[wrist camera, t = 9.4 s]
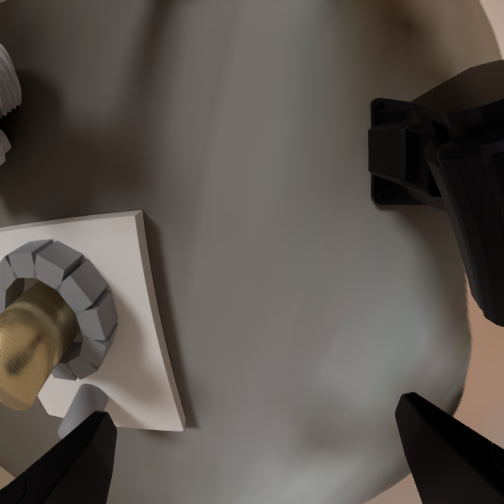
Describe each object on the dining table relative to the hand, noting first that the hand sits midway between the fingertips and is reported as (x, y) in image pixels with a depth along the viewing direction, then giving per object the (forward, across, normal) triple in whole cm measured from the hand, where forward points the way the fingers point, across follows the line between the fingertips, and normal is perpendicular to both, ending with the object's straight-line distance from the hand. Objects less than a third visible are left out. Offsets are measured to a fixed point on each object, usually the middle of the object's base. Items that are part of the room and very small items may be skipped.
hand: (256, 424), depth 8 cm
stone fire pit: (+12, +13, +5) cm, 18 cm away
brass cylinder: (+10, +13, +2) cm, 17 cm away
